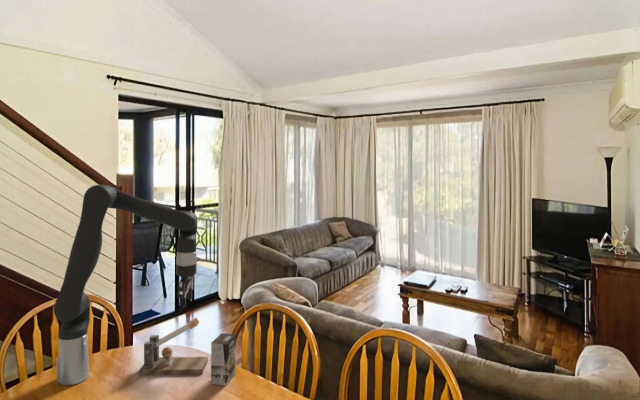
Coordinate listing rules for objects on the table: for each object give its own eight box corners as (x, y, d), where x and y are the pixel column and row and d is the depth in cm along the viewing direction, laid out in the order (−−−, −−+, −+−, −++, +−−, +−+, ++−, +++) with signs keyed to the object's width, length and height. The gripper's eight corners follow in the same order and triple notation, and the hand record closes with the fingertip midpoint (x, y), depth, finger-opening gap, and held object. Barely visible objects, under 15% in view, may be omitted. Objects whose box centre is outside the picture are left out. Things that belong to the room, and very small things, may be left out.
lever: (149, 352, 150) (146, 347, 150) (152, 348, 153) (149, 343, 153) (197, 325, 150) (194, 321, 150) (199, 322, 154) (196, 317, 154)
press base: (139, 375, 147) (138, 345, 146) (148, 362, 157) (148, 334, 156) (202, 374, 149) (202, 344, 148) (207, 361, 159) (207, 333, 158)
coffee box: (226, 386, 141) (226, 344, 140) (210, 384, 142) (210, 342, 141) (236, 373, 150) (236, 334, 148) (221, 371, 151) (221, 332, 150)
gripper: (182, 258, 155) (181, 296, 156) (170, 266, 141) (169, 309, 142) (201, 258, 155) (200, 297, 157) (191, 267, 141) (190, 309, 142)
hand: (185, 303), depth 149 cm, fingers open, 8 cm apart
